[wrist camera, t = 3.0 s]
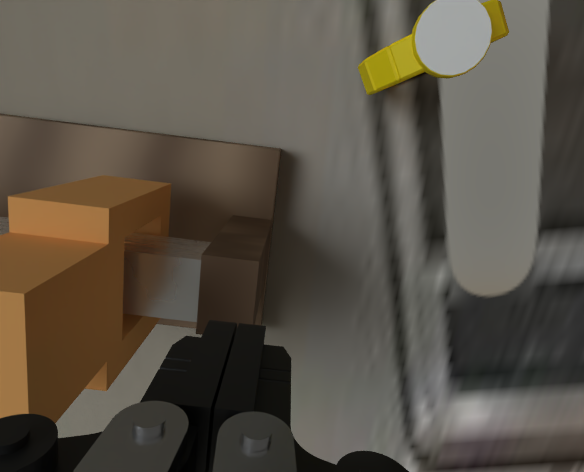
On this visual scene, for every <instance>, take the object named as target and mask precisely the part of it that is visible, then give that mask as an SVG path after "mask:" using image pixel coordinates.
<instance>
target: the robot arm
mask: <svg viewBox="0 0 584 472" xmlns="http://www.w3.org/2000/svg"><path fill="white" fill-rule="evenodd" d="M265 329H266V326H261V325H252V324H244V323H239V324H238V327H237V323H234V322H225V321H217V320H209V321H208V324H207V326H206V328H205V330H204V333H203V335H202V337H201V338H200V337H191V336H185V337H184V338H182V339H181V340H179V341H178V342H176V343H175V344H173V345H172V347H171V349H170V350H169V352H168V354H167V356H166V359H164V361H163V363H162V364H161V366H160V370H158V372H157V373H156V375H155V377H154V379H153V380H152V382H151V384H150V386H149V387H148V389H147V391H146V393H145V395H144V396H143V398H142V400H141V402H140V403H137V404H134V405H131V406H129V407H127V408H125V409H123V410H122V411H120V412H119V413H118V414H116V415H115V417H114V418H113V419H112V420H111V421H110V423H109V424H108V425H107V427H106V428H105V429H104V431H103V432H99V433H95V434H89V435H82V436H74V437H66V438H58V430H57V426H56V424H55V423H54V422H53V421H52V420H51V419H49V418H47V417H45V416H42V415H38V414H17V415H11V416H7V417H3V418H0V472H409V471H407V470H406V469H405V468H404V467H403V466H402V465H400V464H399V463H398V462H396V461H395V460H393V459H391V458H389V457H387V456H385V455H383V454H379V453H376V452H371V451H356V452H351V453H349V454H347V455H345V456H344V457H342V458H341V459H340V460H339V461H338V463H337V465H335V464H332V463H330V462H327V461H324V460H322V459H319V458H317V457H315V456H313V455H311V454H310V453H308V452H307V451H305V450H304V449H303V448H302V447H301V446H300V445H299V444H298V443H297V442H296V440H295V439H294V437H293V434H292V432H291V426H290V414H291V357H290V356H289V354H288V353H287V351H286V350H285V349H284V347H280V346H272V345H264V338H265Z"/></svg>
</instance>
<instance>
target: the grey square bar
mask: <svg viewBox="0 0 584 472" xmlns="http://www.w3.org/2000/svg"><path fill="white" fill-rule="evenodd" d="M8 232H9V218H7V217H0V235H3V234H6V233H8ZM210 243H211V242H206V241H198V240H189V239H181V238H173V237H165V236H156V235H148V234H140V233H131V234H130V235H128V236H126V237H125V238H124V281H123V314H131V315H140V316H148V317H157V318H165V319H174V320H182V321H191V322H197V312H198V297H199V283H200V269H201V255H202V253H203V252H204V251H205V250H206V248H207V247H208V246H209V245H210Z"/></svg>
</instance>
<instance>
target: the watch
mask: <svg viewBox="0 0 584 472" xmlns="http://www.w3.org/2000/svg"><path fill="white" fill-rule="evenodd" d="M508 33H509V30H508V26H507V23H506V19H505V15H504V12H503V8H502V4H501V2H500V1H498V0H490V1H487V2H484V3H480V2H479V1H478V0H436V1H434V2H433V3H431V4H430V5H429V6H428V7H427V8H426V9H425V10H424V11H423V13H422V14H421V15H420V16H419V17H418V19H417V21H416V23H415V26H414V28H413V31H412V34H411V35H409V36H407V37H405V38H403V39H401V40H399V41H397V42H395V43H393V44H391V45H390V46H387V47H385V48H384V49H382V50H380V51H378V52H377V53H375V54H373V55H371V56H370V57H368V58H367V59H365V60H364V61H363V62H362V63H360V64H359V66H358V69H359V72H360V75H361V78H362V80H363V83H364V86H365V89H366V92H367V94H369V95H371V94H374V93H377V92H379V91H382V90H384V89H386V88H389V87H391V86H394V85H396V84H398V83H400V82H403V81H405V80H407V79H410V78H412V77H414V76H417V75H419V74H421V73H424V72H426V73H428V74H430V75H432V76H434V77H437V78H452V77H456V76H459V75H462V74H465V73H467V72H468V71H470V70H471V69H473V68H475V67H476V66H477V65H478V64H479V62H480V61H481V60H482V59H483V58H484V56H485V55H486V52H487V50H488V49H489V46H490V43H492V42H494V41H496V40H498V39H501V38H503V37H505V36H507V35H508Z"/></svg>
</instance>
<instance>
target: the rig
mask: <svg viewBox="0 0 584 472" xmlns="http://www.w3.org/2000/svg"><path fill="white" fill-rule="evenodd" d="M280 156H281V149H279V148H271V147H263V146H255V145H247V144H239V143H231V142H223V141H214V140H206V139H198V138H190V137H182V136H174V135H166V134H158V133H150V132H142V131H134V130H126V129H118V128H110V127H102V126H94V125H86V124H78V123H69V122H61V121H53V120H45V119H37V118H29V117H21V116H13V115H5V114H0V217H7V218H9V214H8V196H11V195H16V194H20V193H25V192H29V191H34V190H38V189H43V188H47V187H52V186H56V185H61V184H65V183H70V182H74V181H79V180H83V179H88V178H92V177H97V176H101V175H107V176H115V177H123V178H131V179H139V180H147V181H155V182H164V183H171V198H170V218H169V237H173V238H181V239H189V240H198V241H206V242H211V243H210V245H209V246H208V247H207V248H206V250H205V251H204V252H203V253H202V255H201V269H200V283H199V297H198V312H197V322H191V321H182V320H174V319H165V318H160V320H159V321H158V322H157V324H163V325H172V326H180V327H189V328H196V334H203V333H204V330H205V328H206V326H207V324H208V321H209V320H217V321H225V322H234V323H237V327H238V324H239V323H244V324H252V325H261V324H262V316H263V307H264V298H265V289H266V280H267V271H268V262H269V253H270V245H271V236H272V227H273V218H274V209H275V200H276V191H277V182H278V173H279V164H280Z"/></svg>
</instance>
